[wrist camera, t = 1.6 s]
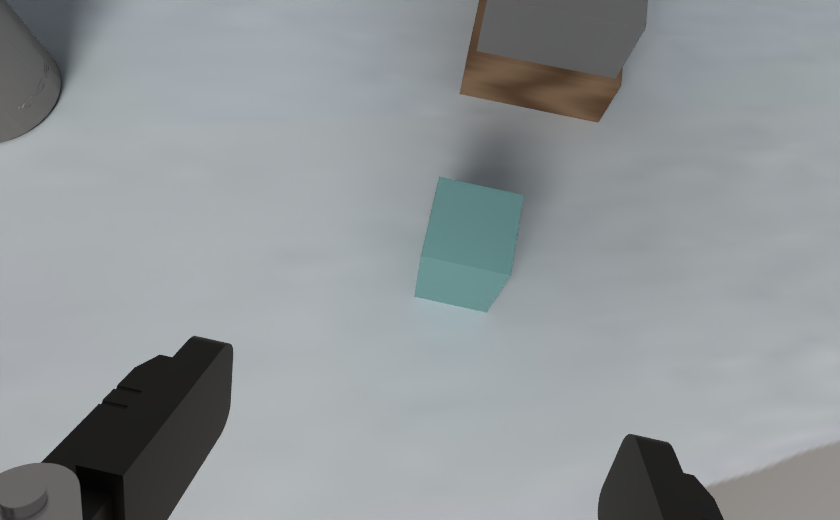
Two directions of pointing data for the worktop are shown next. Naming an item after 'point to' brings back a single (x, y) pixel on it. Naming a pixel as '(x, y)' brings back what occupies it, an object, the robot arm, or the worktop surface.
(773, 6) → the worktop surface
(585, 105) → the tower bottom
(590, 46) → the tower top
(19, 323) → the worktop surface
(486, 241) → the teal block
